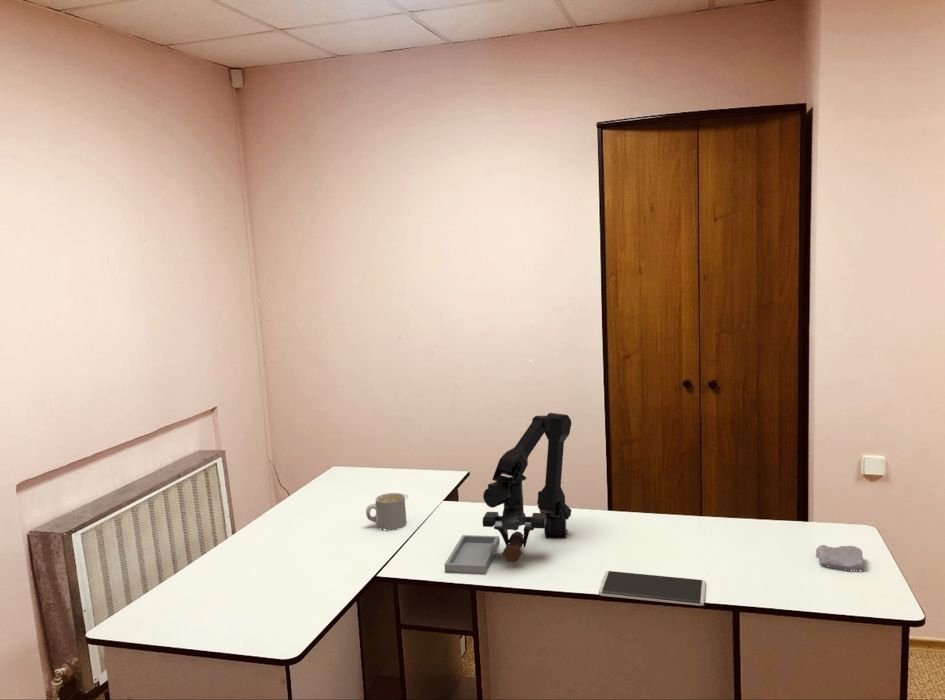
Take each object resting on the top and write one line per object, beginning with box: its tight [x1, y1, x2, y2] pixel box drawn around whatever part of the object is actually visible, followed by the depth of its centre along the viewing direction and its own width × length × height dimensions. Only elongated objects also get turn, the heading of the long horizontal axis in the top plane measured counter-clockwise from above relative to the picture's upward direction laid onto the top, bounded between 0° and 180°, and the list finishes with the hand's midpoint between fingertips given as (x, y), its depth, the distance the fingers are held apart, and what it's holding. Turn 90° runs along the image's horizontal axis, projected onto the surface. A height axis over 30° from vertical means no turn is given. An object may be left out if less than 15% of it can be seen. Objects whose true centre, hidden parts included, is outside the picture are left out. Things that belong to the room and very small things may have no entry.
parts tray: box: [444, 534, 501, 575], centre depth 226 cm, size 12×22×2 cm, turn 167°
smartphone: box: [598, 570, 707, 607], centre depth 200 cm, size 13×27×2 cm, turn 71°
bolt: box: [502, 530, 524, 564], centre depth 224 cm, size 6×5×15 cm
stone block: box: [815, 544, 866, 572], centre depth 208 cm, size 12×5×10 cm
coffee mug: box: [365, 492, 407, 531], centre depth 256 cm, size 13×10×10 cm
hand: (516, 546), depth 225 cm, fingers closed on bolt, 5 cm apart
